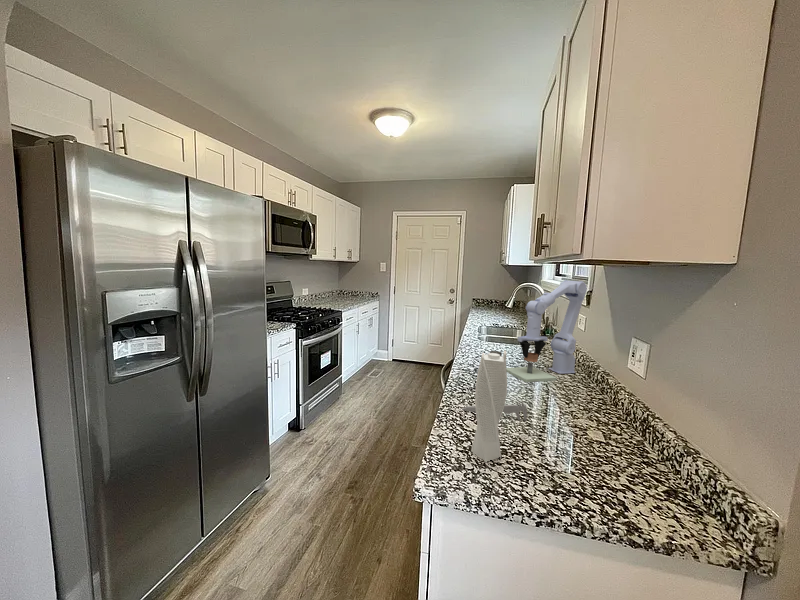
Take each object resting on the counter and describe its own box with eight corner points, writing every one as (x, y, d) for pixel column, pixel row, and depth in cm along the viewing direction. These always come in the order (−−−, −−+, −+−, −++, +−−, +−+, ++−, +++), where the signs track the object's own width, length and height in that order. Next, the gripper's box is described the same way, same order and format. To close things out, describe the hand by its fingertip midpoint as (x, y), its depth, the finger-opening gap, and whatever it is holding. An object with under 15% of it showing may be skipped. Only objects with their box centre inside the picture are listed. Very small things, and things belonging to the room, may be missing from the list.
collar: (531, 358, 156) (532, 352, 155) (540, 361, 150) (540, 355, 150) (521, 358, 154) (522, 352, 154) (529, 362, 149) (530, 355, 148)
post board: (532, 369, 163) (533, 357, 162) (556, 380, 148) (557, 367, 147) (504, 370, 158) (505, 358, 158) (525, 382, 143) (527, 369, 142)
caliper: (526, 420, 107) (527, 402, 106) (526, 422, 106) (527, 403, 105) (462, 409, 113) (463, 391, 113) (461, 410, 112) (462, 392, 112)
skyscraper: (508, 459, 84) (518, 351, 81) (486, 467, 80) (496, 353, 77) (486, 444, 91) (494, 343, 88) (465, 450, 87) (472, 345, 84)
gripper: (525, 329, 145) (523, 359, 146) (553, 329, 149) (550, 358, 150) (515, 326, 151) (513, 355, 153) (542, 326, 156) (539, 354, 157)
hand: (531, 356), depth 152 cm, fingers closed on collar, 6 cm apart
